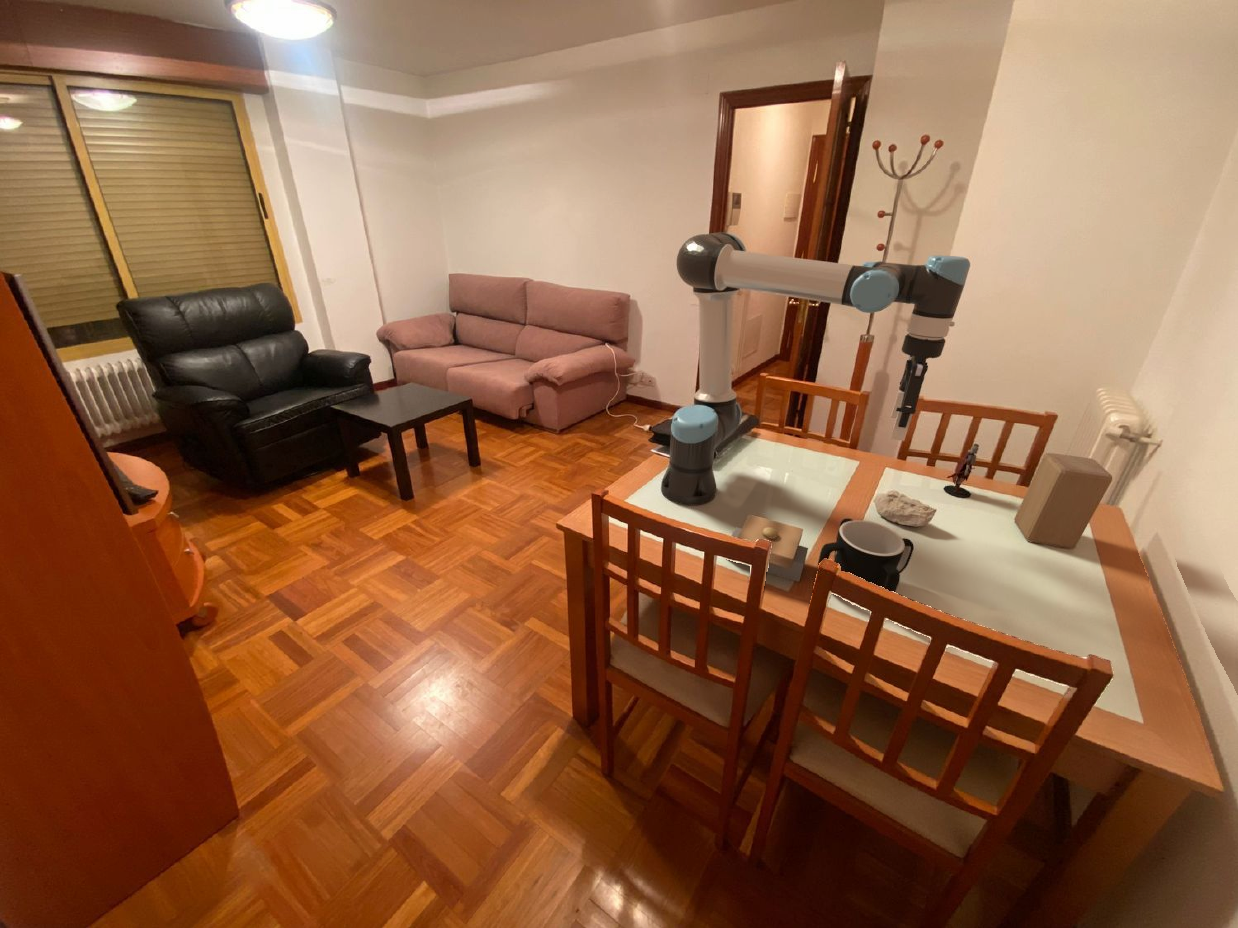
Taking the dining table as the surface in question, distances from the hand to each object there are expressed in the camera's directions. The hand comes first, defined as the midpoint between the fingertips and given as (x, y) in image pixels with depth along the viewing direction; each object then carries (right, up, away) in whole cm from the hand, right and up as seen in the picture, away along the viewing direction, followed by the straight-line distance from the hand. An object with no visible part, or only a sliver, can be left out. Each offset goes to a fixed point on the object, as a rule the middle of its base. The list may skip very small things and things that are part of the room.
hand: (897, 428), depth 115 cm
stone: (+8, -23, +13) cm, 27 cm away
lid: (-31, -26, -6) cm, 41 cm away
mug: (-13, -34, -8) cm, 37 cm away
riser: (-31, -30, -3) cm, 44 cm away
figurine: (+31, -16, +26) cm, 43 cm away
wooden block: (+40, -26, +8) cm, 48 cm away
